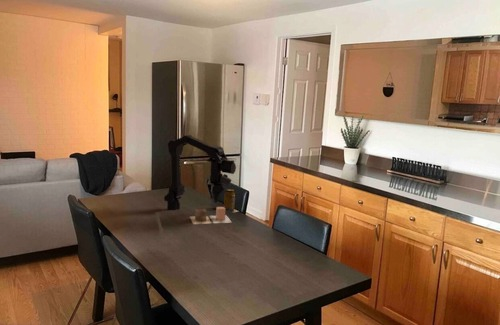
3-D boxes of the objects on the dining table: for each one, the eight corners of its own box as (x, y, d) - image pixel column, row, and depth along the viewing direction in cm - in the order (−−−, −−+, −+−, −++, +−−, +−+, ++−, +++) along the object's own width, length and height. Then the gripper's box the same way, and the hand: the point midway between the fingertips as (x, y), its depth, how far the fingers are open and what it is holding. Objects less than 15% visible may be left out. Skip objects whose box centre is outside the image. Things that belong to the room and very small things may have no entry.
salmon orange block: (217, 220, 204) (217, 209, 203) (215, 218, 208) (216, 207, 207) (224, 220, 205) (225, 209, 204) (223, 217, 209) (223, 206, 208)
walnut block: (196, 221, 200) (196, 212, 199) (194, 218, 205) (195, 209, 204) (206, 221, 202) (206, 211, 201) (204, 218, 206) (204, 208, 205)
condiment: (230, 207, 232) (231, 187, 230) (239, 211, 225) (240, 191, 223) (220, 209, 227) (221, 189, 225) (228, 213, 221) (229, 192, 219)
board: (193, 226, 196) (193, 224, 196) (189, 218, 207) (189, 216, 207) (231, 224, 202) (232, 222, 202) (226, 217, 214) (226, 215, 213)
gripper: (235, 175, 199) (232, 205, 201) (226, 167, 216) (224, 194, 219) (213, 174, 195) (211, 205, 198) (206, 167, 213) (204, 195, 215)
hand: (213, 199), depth 208 cm, fingers open, 9 cm apart
